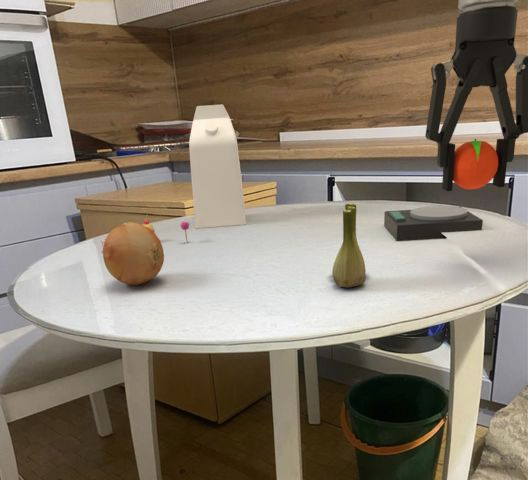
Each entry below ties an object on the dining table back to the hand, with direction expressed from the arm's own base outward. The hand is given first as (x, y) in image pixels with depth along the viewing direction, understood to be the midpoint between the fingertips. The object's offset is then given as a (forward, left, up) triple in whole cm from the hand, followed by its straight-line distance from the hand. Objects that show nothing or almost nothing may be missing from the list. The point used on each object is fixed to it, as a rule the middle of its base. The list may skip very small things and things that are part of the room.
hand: (472, 187), depth 80 cm
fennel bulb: (+19, +7, -12) cm, 24 cm away
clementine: (0, 0, -1) cm, 1 cm away
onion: (+53, 0, -12) cm, 55 cm away
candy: (+58, -27, -12) cm, 66 cm away
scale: (-1, -25, -12) cm, 28 cm away
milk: (+44, -47, -12) cm, 66 cm away
